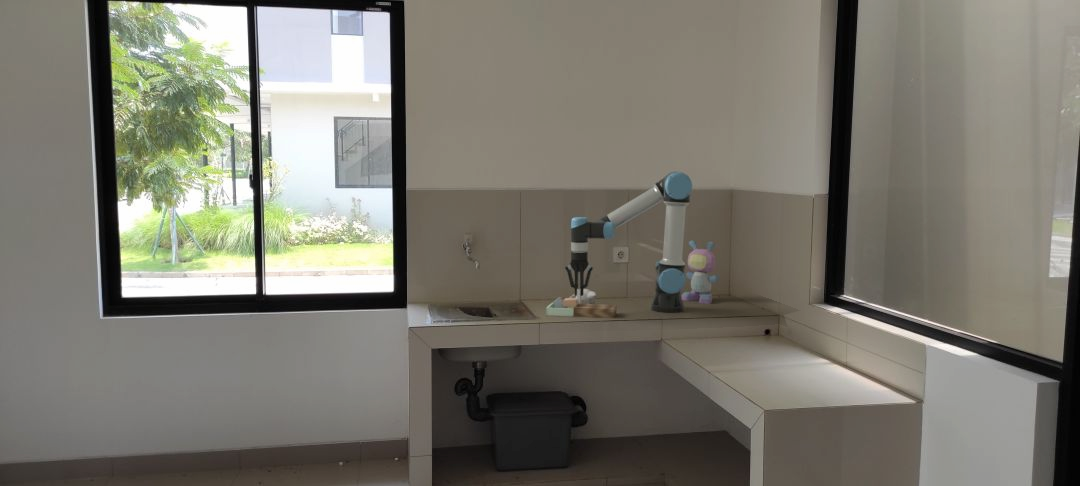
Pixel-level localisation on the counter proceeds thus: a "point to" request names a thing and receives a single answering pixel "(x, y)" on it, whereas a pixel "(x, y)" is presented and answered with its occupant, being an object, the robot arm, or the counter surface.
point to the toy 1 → (587, 297)
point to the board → (595, 310)
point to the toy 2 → (700, 274)
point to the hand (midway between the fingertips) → (579, 302)
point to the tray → (559, 311)
